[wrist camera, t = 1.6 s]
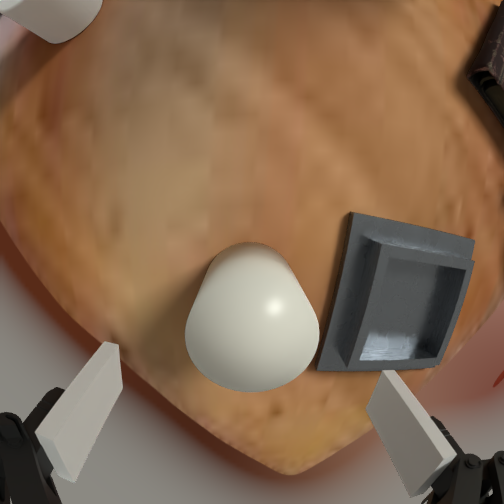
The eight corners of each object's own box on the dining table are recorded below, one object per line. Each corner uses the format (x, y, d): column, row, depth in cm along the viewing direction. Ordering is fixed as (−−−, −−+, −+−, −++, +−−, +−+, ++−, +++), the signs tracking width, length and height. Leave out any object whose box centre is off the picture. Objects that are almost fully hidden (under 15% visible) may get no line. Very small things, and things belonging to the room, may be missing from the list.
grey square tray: (350, 211, 25) (365, 215, 22) (469, 238, 26) (489, 244, 23) (314, 365, 29) (322, 385, 25) (430, 363, 29) (444, 377, 26)
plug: (210, 236, 25) (189, 267, 16) (300, 248, 26) (332, 285, 16) (201, 319, 27) (182, 383, 17) (284, 329, 27) (302, 395, 18)
